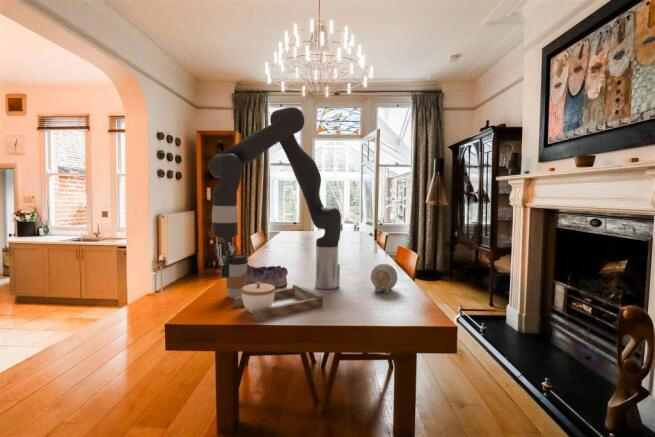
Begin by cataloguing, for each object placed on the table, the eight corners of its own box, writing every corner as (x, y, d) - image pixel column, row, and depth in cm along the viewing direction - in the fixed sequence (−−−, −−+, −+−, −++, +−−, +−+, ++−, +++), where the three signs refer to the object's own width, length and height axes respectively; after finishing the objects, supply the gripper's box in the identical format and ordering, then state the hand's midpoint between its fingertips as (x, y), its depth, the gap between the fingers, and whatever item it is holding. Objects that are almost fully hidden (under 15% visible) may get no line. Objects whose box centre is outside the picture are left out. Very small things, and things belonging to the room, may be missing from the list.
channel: (297, 294, 127) (297, 284, 127) (322, 306, 114) (323, 294, 113) (234, 306, 112) (234, 294, 112) (255, 321, 99) (255, 308, 99)
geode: (237, 291, 131) (236, 265, 132) (239, 287, 142) (238, 263, 143) (289, 287, 135) (288, 262, 136) (286, 283, 146) (285, 260, 147)
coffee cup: (241, 300, 119) (241, 259, 118) (220, 298, 121) (220, 257, 120) (251, 293, 127) (251, 255, 126) (231, 292, 129) (231, 254, 128)
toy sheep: (367, 295, 128) (368, 266, 127) (373, 284, 144) (374, 259, 143) (395, 297, 125) (396, 268, 124) (398, 286, 141) (399, 260, 140)
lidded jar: (246, 318, 101) (246, 288, 101) (238, 308, 111) (238, 280, 110) (279, 313, 106) (279, 284, 106) (269, 303, 116) (269, 277, 115)
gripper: (245, 222, 97) (245, 280, 98) (229, 219, 108) (229, 271, 109) (220, 222, 93) (220, 283, 94) (205, 219, 103) (205, 274, 104)
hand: (224, 277), depth 101 cm, fingers closed
